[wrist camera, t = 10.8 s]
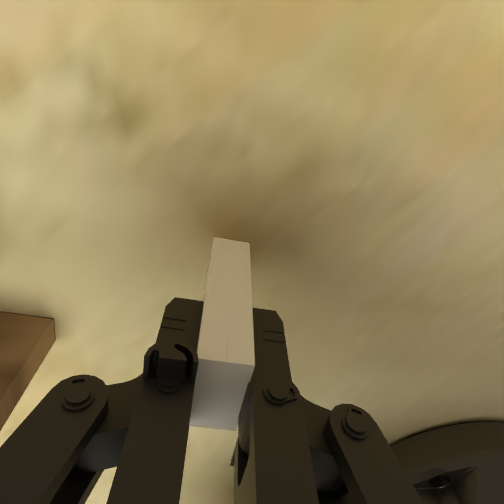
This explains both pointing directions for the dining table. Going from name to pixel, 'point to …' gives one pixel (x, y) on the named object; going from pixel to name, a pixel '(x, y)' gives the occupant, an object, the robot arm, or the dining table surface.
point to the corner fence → (21, 355)
